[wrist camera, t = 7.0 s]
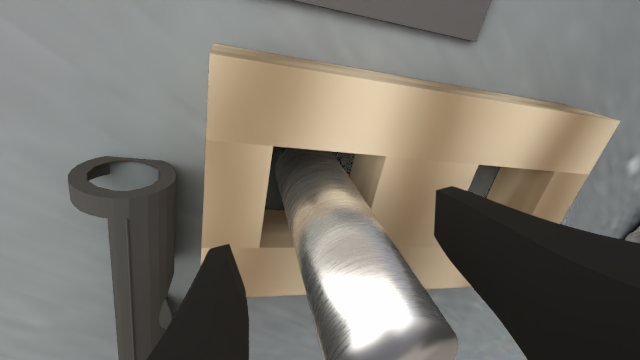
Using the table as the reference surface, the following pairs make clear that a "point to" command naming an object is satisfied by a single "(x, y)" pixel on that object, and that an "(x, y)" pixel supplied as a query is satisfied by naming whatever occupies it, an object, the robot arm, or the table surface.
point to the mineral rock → (634, 236)
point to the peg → (355, 269)
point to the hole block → (377, 155)
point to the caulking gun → (134, 249)
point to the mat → (419, 13)
